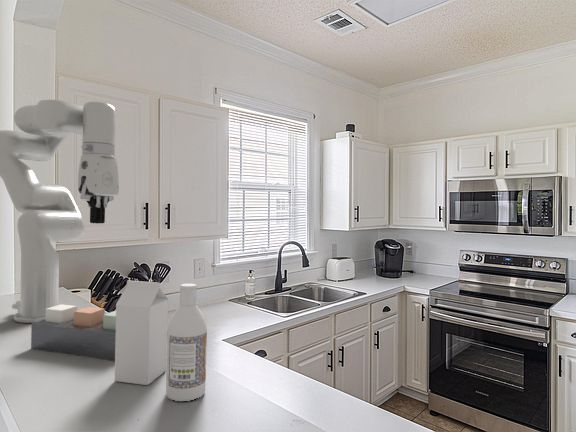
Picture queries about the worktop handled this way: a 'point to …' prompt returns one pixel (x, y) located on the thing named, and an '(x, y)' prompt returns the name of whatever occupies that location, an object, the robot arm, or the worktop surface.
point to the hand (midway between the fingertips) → (97, 223)
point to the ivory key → (60, 313)
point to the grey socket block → (74, 339)
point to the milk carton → (141, 333)
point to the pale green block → (109, 320)
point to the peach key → (89, 316)
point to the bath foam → (186, 349)
